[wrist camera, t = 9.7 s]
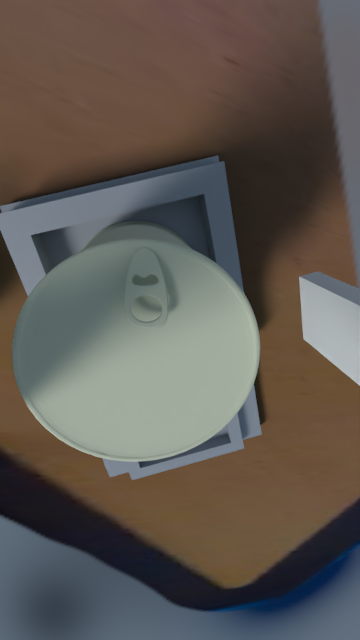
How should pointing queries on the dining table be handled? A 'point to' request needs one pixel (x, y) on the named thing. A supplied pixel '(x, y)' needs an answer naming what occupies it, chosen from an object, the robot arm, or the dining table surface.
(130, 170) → the dining table surface
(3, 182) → the dining table surface
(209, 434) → the can
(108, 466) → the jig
